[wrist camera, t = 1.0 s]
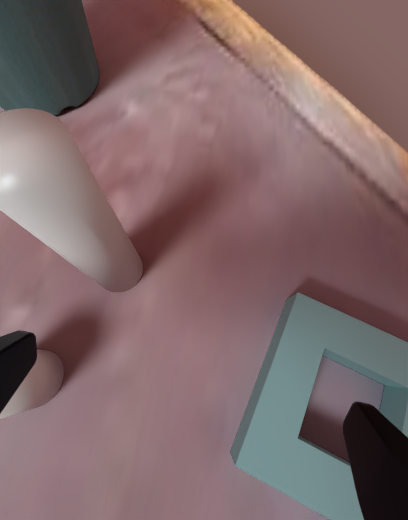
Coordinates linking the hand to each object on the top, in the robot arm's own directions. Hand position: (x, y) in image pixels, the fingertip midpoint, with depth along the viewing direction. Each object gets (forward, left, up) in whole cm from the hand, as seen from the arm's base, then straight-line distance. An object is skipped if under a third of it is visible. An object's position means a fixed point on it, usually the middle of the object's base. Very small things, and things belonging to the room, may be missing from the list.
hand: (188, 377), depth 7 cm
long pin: (+4, +9, -14) cm, 17 cm away
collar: (+2, -11, -14) cm, 18 cm away
